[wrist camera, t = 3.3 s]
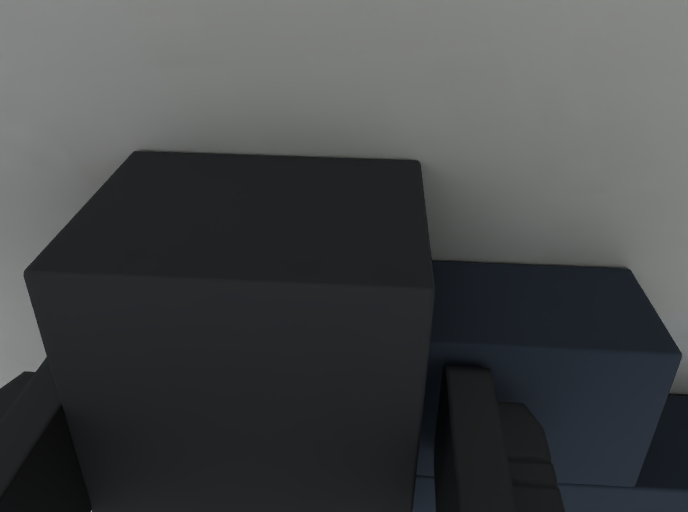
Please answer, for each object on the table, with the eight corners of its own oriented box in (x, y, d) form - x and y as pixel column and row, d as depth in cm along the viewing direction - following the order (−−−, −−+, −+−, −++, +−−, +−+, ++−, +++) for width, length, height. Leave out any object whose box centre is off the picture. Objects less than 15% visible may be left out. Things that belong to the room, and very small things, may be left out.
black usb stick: (133, 149, 11) (20, 271, 8) (420, 159, 11) (436, 289, 7) (189, 488, 16) (134, 660, 12) (394, 500, 15) (395, 678, 12)
